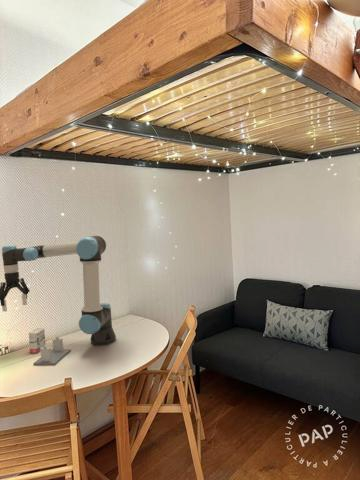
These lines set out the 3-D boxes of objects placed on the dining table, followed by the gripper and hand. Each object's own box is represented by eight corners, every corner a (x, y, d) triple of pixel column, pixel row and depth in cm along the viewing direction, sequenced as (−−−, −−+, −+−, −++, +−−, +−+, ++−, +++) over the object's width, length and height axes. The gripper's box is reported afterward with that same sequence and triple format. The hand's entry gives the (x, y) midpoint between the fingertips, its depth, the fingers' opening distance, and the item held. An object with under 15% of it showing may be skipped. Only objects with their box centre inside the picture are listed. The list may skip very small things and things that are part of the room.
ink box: (37, 353, 189) (35, 333, 188) (29, 353, 190) (27, 333, 189) (46, 347, 197) (44, 328, 196) (39, 347, 198) (37, 328, 198)
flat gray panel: (70, 351, 189) (69, 335, 188) (55, 365, 171) (53, 347, 170) (51, 351, 190) (49, 335, 190) (33, 365, 173) (31, 348, 172)
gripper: (24, 268, 205) (28, 302, 206) (-14, 275, 182) (-9, 313, 183) (33, 268, 202) (37, 302, 203) (-4, 276, 179) (0, 314, 180)
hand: (15, 308), depth 193 cm, fingers open, 13 cm apart
